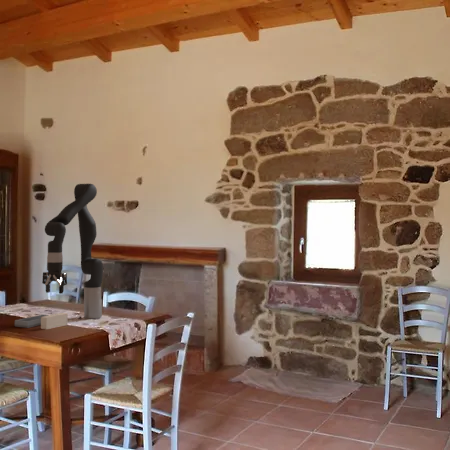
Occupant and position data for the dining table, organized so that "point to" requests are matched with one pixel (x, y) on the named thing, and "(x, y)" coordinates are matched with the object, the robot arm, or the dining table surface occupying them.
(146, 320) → the dining table surface
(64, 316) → the beige rectangular block
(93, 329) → the dining table surface
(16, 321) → the grey flat block
